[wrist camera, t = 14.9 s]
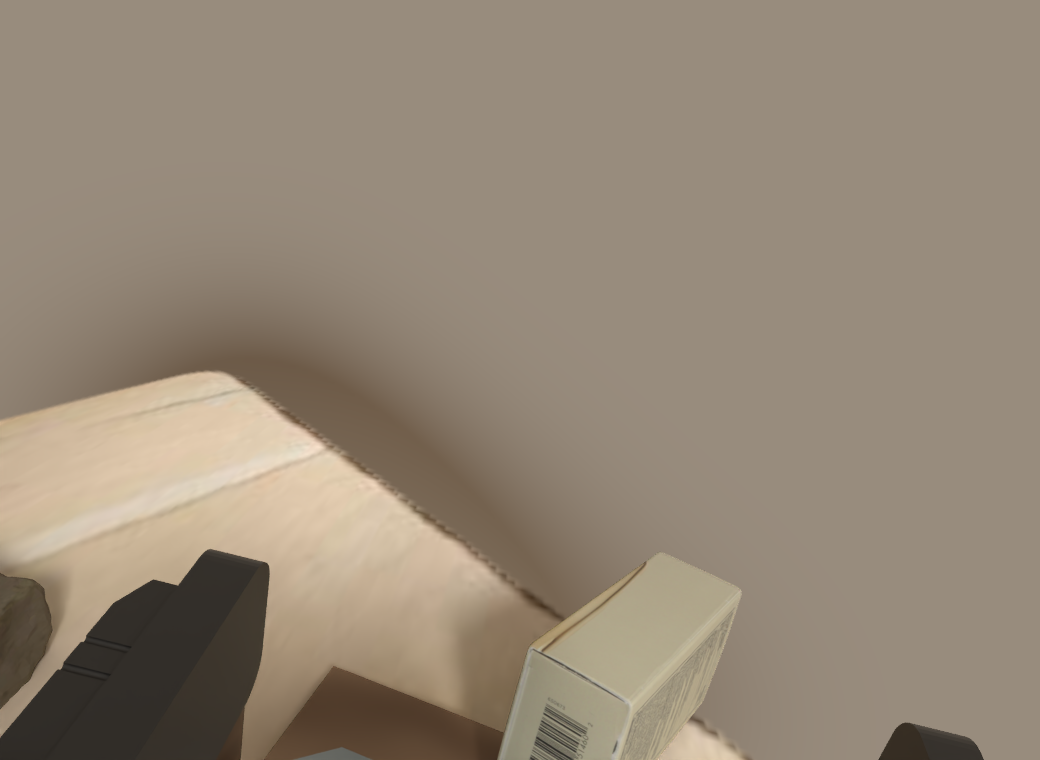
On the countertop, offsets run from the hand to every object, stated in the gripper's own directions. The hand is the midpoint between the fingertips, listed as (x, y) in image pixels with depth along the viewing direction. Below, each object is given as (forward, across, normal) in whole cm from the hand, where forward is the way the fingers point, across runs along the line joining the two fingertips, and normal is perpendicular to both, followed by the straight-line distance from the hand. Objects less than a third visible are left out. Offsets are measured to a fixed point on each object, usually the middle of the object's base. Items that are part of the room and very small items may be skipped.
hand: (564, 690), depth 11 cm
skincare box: (+14, -2, +16) cm, 21 cm away
